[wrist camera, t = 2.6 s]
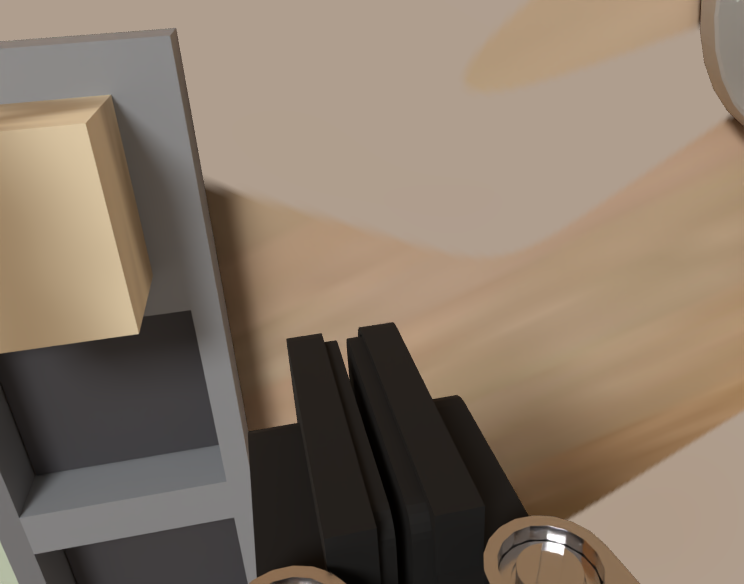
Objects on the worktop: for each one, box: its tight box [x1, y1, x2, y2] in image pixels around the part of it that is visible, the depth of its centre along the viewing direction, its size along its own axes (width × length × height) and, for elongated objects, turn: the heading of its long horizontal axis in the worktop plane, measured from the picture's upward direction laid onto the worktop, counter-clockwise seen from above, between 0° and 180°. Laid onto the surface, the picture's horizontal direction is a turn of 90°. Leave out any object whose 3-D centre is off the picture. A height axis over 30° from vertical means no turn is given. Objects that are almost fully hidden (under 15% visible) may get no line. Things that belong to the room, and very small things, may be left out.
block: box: [0, 95, 153, 354], centre depth 19 cm, size 6×6×4 cm
